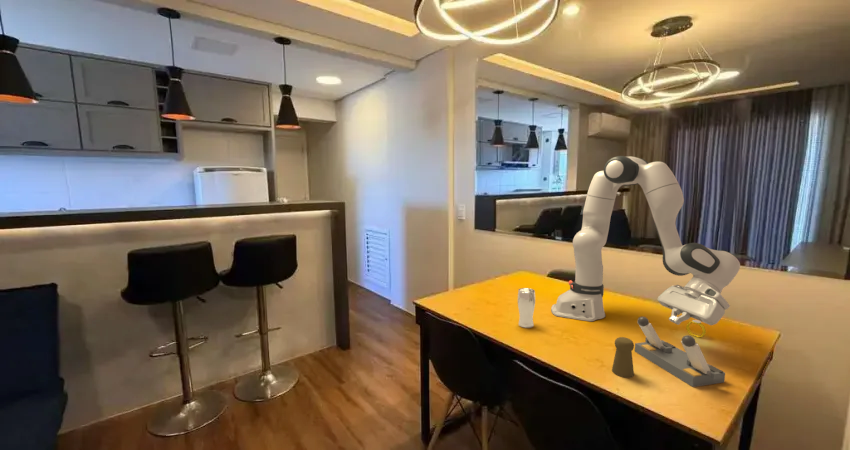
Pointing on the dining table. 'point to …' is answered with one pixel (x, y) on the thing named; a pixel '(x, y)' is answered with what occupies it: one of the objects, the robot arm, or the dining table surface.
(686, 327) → the watch
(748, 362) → the dining table surface
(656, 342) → the lever
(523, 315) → the beer glass
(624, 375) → the brown pawn
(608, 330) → the dining table surface
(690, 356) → the lever
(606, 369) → the dining table surface
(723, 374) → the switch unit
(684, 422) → the dining table surface
